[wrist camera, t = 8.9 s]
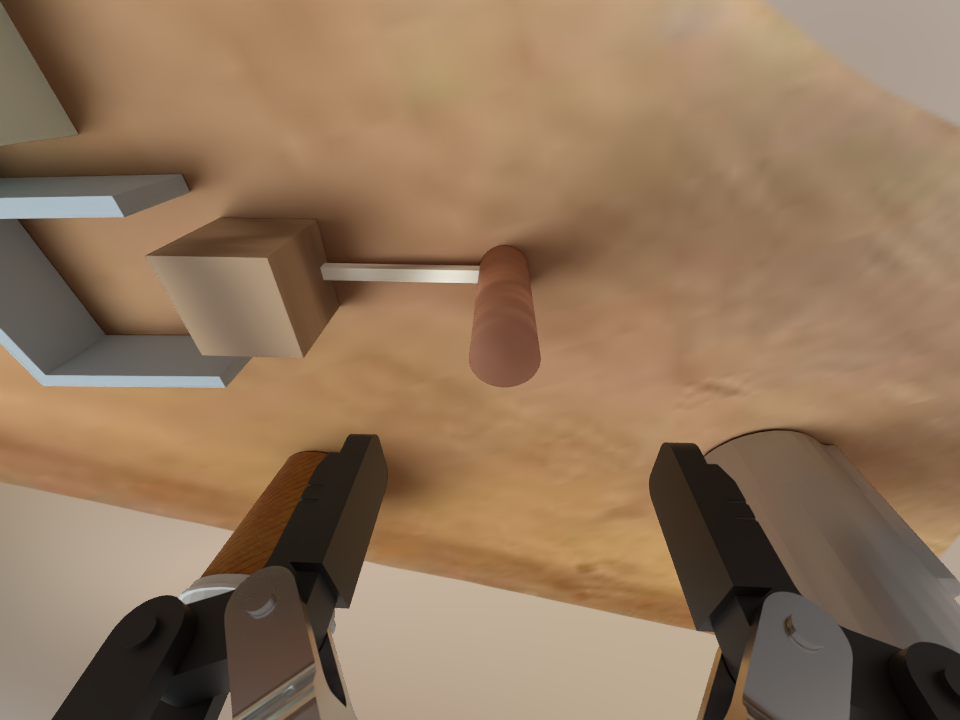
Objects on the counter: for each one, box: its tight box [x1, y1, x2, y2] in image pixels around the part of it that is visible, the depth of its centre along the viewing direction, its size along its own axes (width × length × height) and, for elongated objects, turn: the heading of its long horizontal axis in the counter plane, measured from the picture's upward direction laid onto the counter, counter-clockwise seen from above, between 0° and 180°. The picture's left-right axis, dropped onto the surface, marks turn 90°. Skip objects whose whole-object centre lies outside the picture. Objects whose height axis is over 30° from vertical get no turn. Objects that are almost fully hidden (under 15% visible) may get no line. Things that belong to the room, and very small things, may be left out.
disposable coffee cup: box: [178, 452, 336, 635], centre depth 27 cm, size 10×10×12 cm
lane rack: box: [0, 174, 252, 388], centre depth 17 cm, size 11×19×4 cm, turn 2°
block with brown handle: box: [146, 218, 541, 387], centre depth 17 cm, size 16×5×8 cm, turn 90°
